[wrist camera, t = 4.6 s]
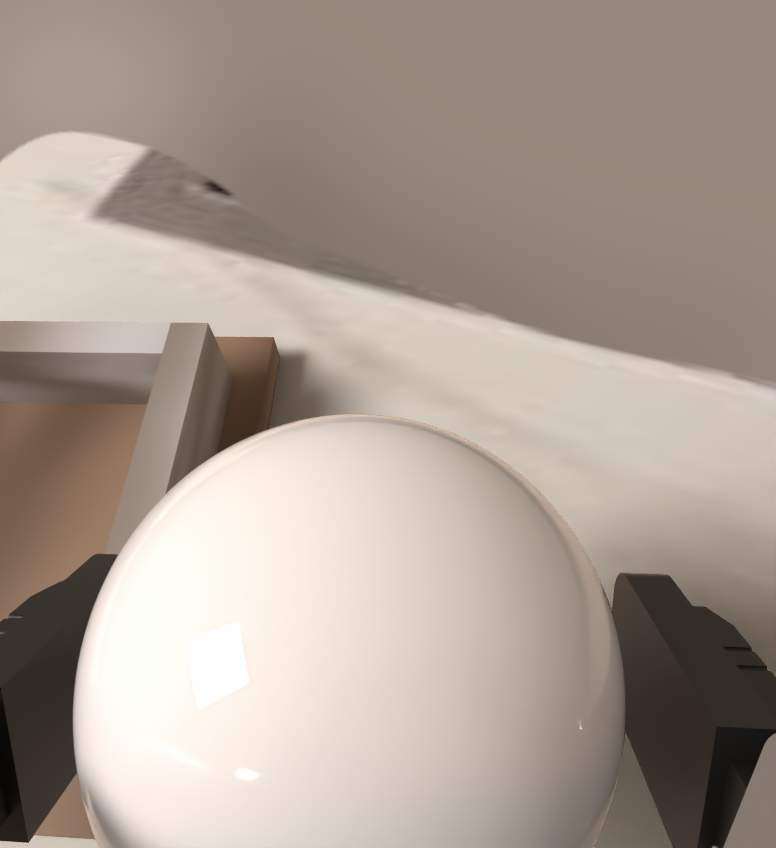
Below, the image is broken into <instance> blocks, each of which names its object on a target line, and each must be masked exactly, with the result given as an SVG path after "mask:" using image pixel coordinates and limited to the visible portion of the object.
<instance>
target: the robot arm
mask: <svg viewBox="0 0 776 848" xmlns="http://www.w3.org/2000/svg"><path fill="white" fill-rule="evenodd" d="M117 556H118V554H95V555H93V556H92V557H90V558H89V559H88V560H87V561H86V562H85V563H84V564H82V565H81V566H80V567H79V568H78V569H77V570H76V571H74V572H73V573H72V574H71V575H70V576H69V577H67V578H66V579H65V580H64V581H60V582H58V583H56V584H54V585H52V586H50V587H48V588H46V589H44V590H42V591H40V592H38V593H36V594H34V595H32V596H30V597H29V598H28V599H27V600H26V601H25V602H23V603H22V604H21V605H20V606H19V607H17V608H16V609H15V610H14V611H13V612H11V613H10V614H9V617H8V619H3V620H2V621H1V622H0V841H12V842H27V843H29V841H30V840H31V838H32V837H33V836H34V834H35V833H36V831H37V830H38V828H39V827H40V825H41V824H42V823H43V821H44V820H45V818H46V817H47V815H48V814H49V813H50V811H51V810H52V808H53V807H54V805H55V804H56V802H57V801H58V800H59V798H60V797H61V795H62V794H63V792H64V791H65V789H66V788H67V787H68V785H69V784H70V782H71V781H72V779H73V778H74V776H75V775H76V774H77V770H76V764H75V755H74V744H73V697H74V686H75V677H76V671H77V664H78V659H79V654H80V649H81V645H82V641H83V637H84V634H85V630H86V627H87V623H88V620H89V617H90V614H91V612H92V609H93V606H94V603H95V601H96V598H97V596H98V593H99V591H100V589H101V587H102V584H103V582H104V580H105V578H106V576H107V574H108V572H109V570H110V568H111V566H112V565H113V563H114V561H115V559H116V557H117ZM612 614H613V618H614V621H615V625H616V629H617V633H618V638H619V643H620V648H621V653H622V660H623V667H624V677H625V692H626V723H625V730H626V733H627V735H628V738H629V740H630V743H631V745H632V748H633V750H634V753H635V755H636V757H637V760H638V762H639V765H640V767H641V770H642V772H643V775H644V777H645V780H646V782H647V785H648V787H649V789H650V792H651V794H652V797H653V799H654V802H655V804H656V807H657V809H658V812H659V814H660V817H661V819H662V821H663V824H664V826H665V829H666V831H667V834H668V836H669V839H670V841H671V844H672V846H673V848H776V677H775V676H774V675H773V673H772V672H771V671H767V666H766V665H765V664H764V662H763V661H762V660H761V659H760V658H759V656H758V655H757V654H756V653H755V652H752V650H751V647H750V645H749V644H748V643H747V642H746V640H745V639H744V638H743V637H742V636H741V634H740V633H739V632H738V631H737V629H736V628H735V627H734V626H733V625H732V624H730V623H729V622H727V621H726V620H724V619H723V618H721V617H720V616H718V615H717V614H715V613H714V612H712V611H710V610H709V609H707V608H706V607H698V606H692V605H691V604H690V602H689V601H688V600H687V598H686V597H685V596H684V594H683V593H682V592H681V590H680V589H679V588H678V586H677V585H676V584H675V582H674V581H673V580H672V578H671V577H670V576H668V575H661V574H633V573H620V574H619V575H618V577H617V579H616V582H615V588H614V597H613V607H612Z"/></svg>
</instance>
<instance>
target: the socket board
mask: <svg viewBox="0 0 776 848" xmlns="http://www.w3.org/2000/svg"><path fill="white" fill-rule="evenodd" d="M279 360H280V355H279V352H278V349H277V346H276V343H275V340H274V337H214V335H213V333H212V330H211V328H210V326H209V324H208V323H142V322H30V321H0V622H1V621H2V620H3V619H8V617H9V614H10V613H11V612H13V611H14V610H15V609H16V608H17V607H19V606H20V605H21V604H22V603H23V602H25V601H26V600H27V599H28V598H29V597H30V596H32V595H34V594H36V593H38V592H40V591H42V590H44V589H46V588H48V587H50V586H52V585H54V584H56V583H58V582H60V581H64V580H65V579H66V578H67V577H69V576H70V575H71V574H72V573H73V572H74V571H76V570H77V569H78V568H79V567H80V566H81V565H82V564H84V563H85V562H86V561H87V560H88V559H89V558H90V557H92V556H93V555H95V554H119V553H120V551H121V549H122V548H123V546H124V545H125V543H126V542H127V540H128V539H129V537H130V536H131V534H132V533H133V532H134V530H135V529H136V527H137V526H138V525H139V524H140V522H141V521H142V520H143V519H144V517H145V516H146V515H147V514H148V513H149V511H150V510H151V509H152V508H153V507H154V506H155V505H156V504H157V502H158V501H159V500H160V499H161V498H162V497H163V496H164V495H165V494H166V493H167V492H168V491H169V490H170V489H171V488H172V487H174V486H175V485H176V484H177V483H178V482H179V481H180V480H181V479H183V478H184V477H185V476H186V475H187V474H189V473H190V472H191V471H193V470H194V469H195V468H197V467H198V466H199V465H201V464H202V463H204V462H205V461H206V460H208V459H209V458H211V457H213V456H214V455H216V454H217V453H219V452H221V451H222V450H224V449H226V448H228V447H229V446H231V445H233V444H235V443H237V442H239V441H241V440H243V439H245V438H248V437H250V436H252V435H254V434H257V433H259V432H262V431H264V430H267V429H268V424H269V419H270V413H271V407H272V401H273V395H274V389H275V383H276V377H277V372H278V366H279ZM34 835H41V836H56V837H70V838H85V839H95V837H94V834H93V832H92V829H91V826H90V824H89V820H88V817H87V814H86V811H85V807H84V803H83V800H82V796H81V792H80V787H79V782H78V776H77V774H76V775H75V776H74V778H73V779H72V781H71V782H70V784H69V785H68V787H67V788H66V789H65V791H64V792H63V794H62V795H61V797H60V798H59V800H58V801H57V802H56V804H55V805H54V807H53V808H52V810H51V811H50V813H49V814H48V815H47V817H46V818H45V820H44V821H43V823H42V824H41V825H40V827H39V828H38V830H37V831H36V833H35V834H34Z"/></svg>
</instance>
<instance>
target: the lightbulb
mask: <svg viewBox="0 0 776 848" xmlns="http://www.w3.org/2000/svg"><path fill="white" fill-rule="evenodd" d="M625 723H626V692H625V677H624V667H623V660H622V653H621V648H620V643H619V638H618V633H617V629H616V625H615V621H614V618H613V614H612V611H611V608H610V605H609V602H608V599H607V596H606V594H605V591H604V589H603V586H602V584H601V581H600V579H599V577H598V575H597V573H596V570H595V568H594V567H593V565H592V563H591V561H590V559H589V557H588V555H587V553H586V552H585V550H584V548H583V546H582V545H581V543H580V542H579V540H578V538H577V537H576V535H575V534H574V532H573V531H572V530H571V528H570V527H569V525H568V524H567V523H566V521H565V520H564V519H563V517H562V516H561V515H560V514H559V512H558V511H557V510H556V509H555V507H554V506H553V505H552V504H551V503H550V502H549V501H548V500H547V499H546V497H545V496H544V495H543V494H542V493H541V492H540V491H539V490H538V489H537V488H536V487H535V486H533V485H532V484H531V483H530V482H529V481H528V480H527V479H526V478H524V477H523V476H522V475H521V474H520V473H519V472H517V471H516V470H515V469H513V468H512V467H511V466H509V465H508V464H507V463H505V462H504V461H502V460H501V459H499V458H498V457H497V456H495V455H493V454H492V453H490V452H489V451H487V450H485V449H483V448H482V447H480V446H478V445H476V444H474V443H472V442H470V441H469V440H467V439H464V438H462V437H460V436H458V435H456V434H453V433H451V432H448V431H446V430H443V429H440V428H437V427H434V426H431V425H428V424H424V423H420V422H416V421H412V420H408V419H403V418H397V417H391V416H383V415H372V414H338V415H327V416H320V417H313V418H307V419H302V420H298V421H294V422H290V423H286V424H282V425H279V426H276V427H273V428H270V429H267V430H264V431H262V432H259V433H257V434H254V435H252V436H250V437H248V438H245V439H243V440H241V441H239V442H237V443H235V444H233V445H231V446H229V447H228V448H226V449H224V450H222V451H221V452H219V453H217V454H216V455H214V456H213V457H211V458H209V459H208V460H206V461H205V462H204V463H202V464H201V465H199V466H198V467H197V468H195V469H194V470H193V471H191V472H190V473H189V474H187V475H186V476H185V477H184V478H183V479H181V480H180V481H179V482H178V483H177V484H176V485H175V486H174V487H172V488H171V489H170V490H169V491H168V492H167V493H166V494H165V495H164V496H163V497H162V498H161V499H160V500H159V501H158V502H157V504H156V505H155V506H154V507H153V508H152V509H151V510H150V511H149V513H148V514H147V515H146V516H145V517H144V519H143V520H142V521H141V522H140V524H139V525H138V526H137V527H136V529H135V530H134V532H133V533H132V534H131V536H130V537H129V539H128V540H127V542H126V543H125V545H124V546H123V548H122V549H121V551H120V553H119V554H118V556H117V557H116V559H115V561H114V563H113V565H112V566H111V568H110V570H109V572H108V574H107V576H106V578H105V580H104V582H103V584H102V587H101V589H100V591H99V593H98V596H97V598H96V601H95V603H94V606H93V609H92V612H91V614H90V617H89V620H88V623H87V627H86V630H85V634H84V637H83V641H82V645H81V649H80V654H79V659H78V664H77V671H76V677H75V686H74V697H73V744H74V755H75V764H76V770H77V776H78V782H79V787H80V792H81V796H82V800H83V803H84V807H85V811H86V814H87V817H88V820H89V824H90V826H91V829H92V832H93V834H94V837H95V839H96V842H97V844H98V846H99V848H594V846H595V844H596V842H597V840H598V838H599V835H600V833H601V831H602V828H603V826H604V823H605V820H606V818H607V815H608V812H609V809H610V806H611V803H612V800H613V796H614V793H615V789H616V785H617V781H618V776H619V772H620V767H621V761H622V755H623V747H624V737H625Z"/></svg>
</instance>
